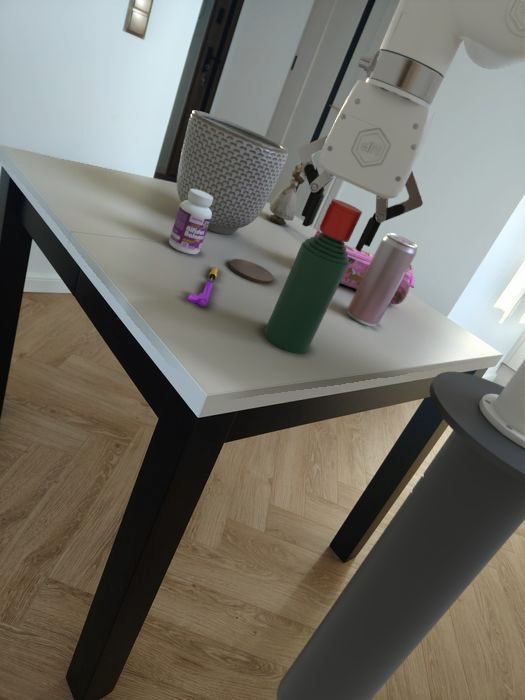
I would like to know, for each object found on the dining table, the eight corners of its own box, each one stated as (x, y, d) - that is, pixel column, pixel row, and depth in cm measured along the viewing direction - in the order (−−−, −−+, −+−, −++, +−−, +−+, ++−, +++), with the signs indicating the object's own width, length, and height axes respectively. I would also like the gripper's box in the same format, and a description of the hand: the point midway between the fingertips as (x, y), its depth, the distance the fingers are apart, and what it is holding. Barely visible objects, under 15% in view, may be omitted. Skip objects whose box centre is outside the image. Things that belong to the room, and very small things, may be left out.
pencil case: (301, 277, 97) (320, 234, 93) (299, 262, 105) (316, 222, 101) (401, 315, 100) (424, 275, 96) (392, 298, 108) (412, 260, 104)
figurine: (263, 213, 132) (285, 156, 126) (286, 221, 134) (309, 166, 128) (268, 222, 125) (291, 162, 119) (293, 231, 127) (317, 172, 121)
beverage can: (348, 306, 92) (387, 229, 85) (378, 321, 91) (420, 244, 85) (343, 315, 86) (384, 234, 80) (375, 331, 86) (419, 250, 79)
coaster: (279, 279, 90) (280, 276, 90) (262, 287, 83) (263, 284, 83) (241, 259, 92) (242, 256, 92) (221, 265, 85) (222, 262, 85)
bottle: (313, 344, 71) (373, 220, 63) (299, 358, 65) (363, 224, 57) (274, 323, 72) (328, 199, 64) (256, 335, 67) (313, 201, 59)
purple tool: (206, 308, 68) (218, 272, 82) (207, 300, 67) (219, 265, 82) (186, 306, 68) (202, 270, 82) (187, 298, 67) (202, 263, 82)
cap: (317, 231, 61) (330, 200, 59) (320, 226, 64) (333, 197, 62) (347, 244, 60) (361, 214, 59) (349, 238, 64) (362, 210, 62)
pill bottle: (181, 255, 82) (199, 198, 78) (162, 240, 85) (178, 184, 81) (205, 255, 86) (224, 201, 82) (186, 241, 89) (203, 188, 85)
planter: (145, 208, 97) (173, 104, 88) (188, 200, 114) (215, 113, 106) (235, 252, 94) (274, 150, 86) (266, 237, 112) (300, 151, 104)
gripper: (324, 46, 52) (261, 210, 60) (481, 112, 50) (395, 273, 58) (335, 58, 59) (277, 205, 67) (474, 117, 57) (398, 261, 65)
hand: (333, 235), depth 62 cm, fingers open, 6 cm apart
